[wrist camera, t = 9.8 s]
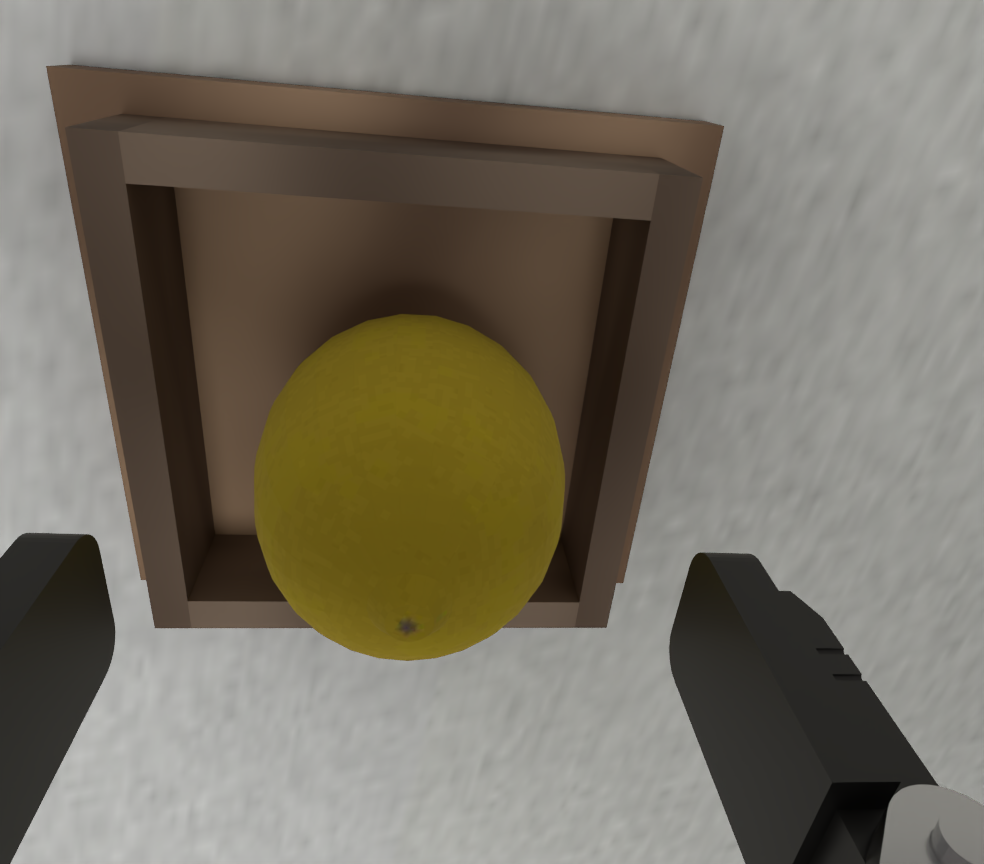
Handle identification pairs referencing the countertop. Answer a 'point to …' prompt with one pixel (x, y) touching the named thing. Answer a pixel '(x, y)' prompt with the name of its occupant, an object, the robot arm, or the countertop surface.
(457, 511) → the lemon
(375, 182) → the lemon stand
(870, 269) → the countertop surface
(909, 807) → the robot arm
